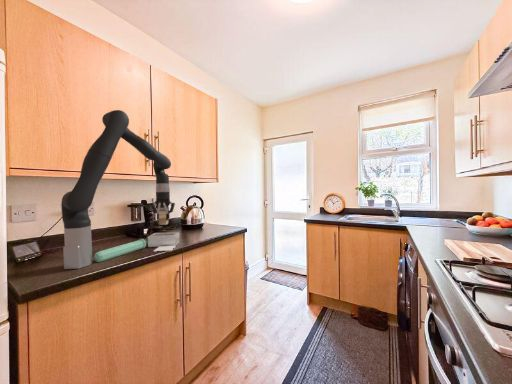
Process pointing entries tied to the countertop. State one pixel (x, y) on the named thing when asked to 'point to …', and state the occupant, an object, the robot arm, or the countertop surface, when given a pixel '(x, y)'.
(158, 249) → the pad
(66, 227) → the robot arm
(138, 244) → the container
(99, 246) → the countertop surface
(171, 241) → the keyway block
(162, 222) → the key peg
